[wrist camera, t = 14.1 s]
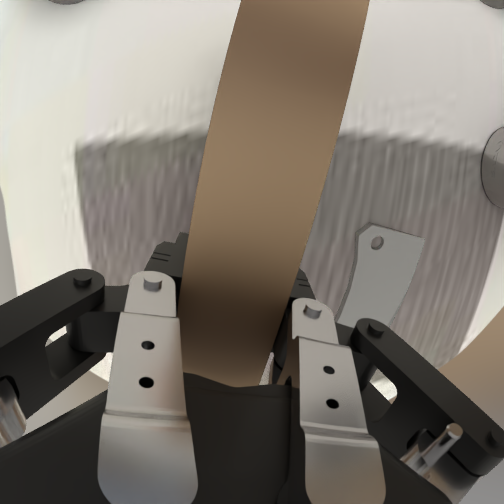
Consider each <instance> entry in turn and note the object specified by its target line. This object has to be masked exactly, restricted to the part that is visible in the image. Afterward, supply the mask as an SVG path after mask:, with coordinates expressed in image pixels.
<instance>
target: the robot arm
mask: <svg viewBox="0 0 504 504" xmlns="http://www.w3.org/2000/svg"><path fill="white" fill-rule="evenodd" d="M482 181H483V186H484V189H485V192H486V195H487V196H488V198H489V199H490V201H491V202H492V203H493V204H494V205H496V206H498V207H500V208H502V209H504V127H503V128H500V129H499V130H497V131H496V132H495V133H494V134H493V135H492V136H491V138H490V139H489V141H488V143H487V145H486V148H485V151H484V155H483V160H482ZM188 237H189V234H187V233H182V232H180V233H179V236H178V238H177V240H176V243H170V242H163V243H161V244H159V245H157V246H156V248H155V250H154V252H153V254H152V256H151V258H150V260H149V262H148V264H147V266H146V268H145V270H144V271H143V272H139V273H136V274H134V275H133V276H132V277H131V280H130V284H129V285H125V286H105V279H104V277H103V276H102V275H101V274H100V273H98V272H96V271H94V270H90V269H76V270H72V271H69V272H67V273H65V274H63V275H60V276H58V277H56V278H54V279H52V280H50V281H48V282H46V283H44V284H42V285H40V286H38V287H36V288H34V289H32V290H30V291H28V292H26V293H24V294H22V295H20V296H18V297H16V298H14V299H12V300H10V301H8V302H7V303H5V304H3V305H1V306H0V504H458V503H459V502H460V501H461V500H462V499H463V497H464V496H465V495H466V494H467V492H468V491H469V490H470V489H471V488H472V486H473V485H475V484H476V483H477V482H478V481H479V480H481V479H482V478H483V477H484V476H485V475H486V474H488V473H489V472H490V471H491V470H492V469H493V468H494V467H495V466H497V465H498V464H499V463H500V462H501V461H502V460H503V459H504V430H503V429H502V428H501V427H499V425H497V424H496V423H495V422H494V421H493V420H492V419H491V418H490V417H489V416H488V415H487V414H485V412H483V411H482V410H481V409H480V408H479V407H478V406H477V405H476V404H475V403H473V401H471V400H470V399H469V398H468V397H467V396H466V395H465V394H464V393H462V392H461V391H460V390H459V389H458V388H457V387H456V386H455V385H454V384H453V383H451V382H450V381H449V380H448V379H447V378H446V377H445V376H444V375H442V374H441V373H440V372H439V371H438V370H437V369H436V368H435V367H433V366H432V365H431V364H430V363H429V362H428V361H427V360H425V359H424V358H423V357H422V356H421V355H420V354H419V353H418V352H416V351H415V350H414V349H413V348H412V347H411V346H409V345H408V344H407V343H406V342H405V341H404V340H403V339H401V338H400V337H399V336H398V335H397V334H396V333H394V332H393V331H392V330H391V329H390V328H389V327H387V326H386V325H385V324H383V323H381V322H380V321H377V320H374V319H371V318H361V319H359V320H358V321H357V323H356V325H355V327H354V328H352V327H349V326H346V325H343V324H340V323H337V322H335V321H334V316H333V313H332V311H331V310H330V308H329V307H328V306H326V305H325V304H323V303H321V302H319V301H317V300H316V299H315V296H314V294H313V291H312V289H311V287H310V284H309V282H308V279H307V277H306V274H305V273H304V272H303V271H302V270H301V269H300V268H299V269H298V272H297V275H296V279H295V282H294V285H293V288H292V291H291V294H290V297H289V300H288V303H287V306H286V309H285V312H284V315H283V318H282V321H281V324H280V327H279V329H278V332H277V335H276V338H275V341H274V344H273V347H272V349H271V352H273V353H274V357H273V359H272V362H271V365H270V373H269V383H268V385H258V386H247V387H232V386H229V385H226V384H222V383H219V382H216V381H214V380H211V379H208V378H205V377H202V376H199V375H196V374H192V373H186V372H183V369H182V355H181V340H180V323H179V317H177V312H178V304H179V297H180V289H181V282H182V275H183V269H184V262H185V255H186V249H187V243H188ZM64 326H66V331H67V333H66V334H64V335H63V336H61V337H60V338H58V339H57V340H55V341H54V342H52V343H51V344H49V345H48V346H46V347H45V344H46V342H47V340H48V338H49V337H50V336H51V335H52V334H53V333H54V332H56V331H58V330H59V329H61V328H62V327H64ZM107 352H113V358H112V365H111V371H110V378H109V387H108V389H107V390H106V391H104V392H102V393H100V394H99V395H97V396H95V397H93V398H92V399H90V400H88V401H86V402H85V403H83V404H81V405H79V406H78V407H76V408H74V409H72V410H70V411H69V412H67V413H65V414H63V415H61V416H59V417H58V418H56V419H54V420H52V421H50V422H48V423H47V424H45V425H43V426H41V427H39V428H37V429H35V430H34V431H32V432H30V433H28V434H26V435H24V436H22V435H23V433H24V432H25V429H26V419H28V418H29V417H30V416H31V415H33V414H34V413H35V412H37V411H38V410H39V409H40V408H42V407H43V406H44V405H45V404H47V403H48V402H49V401H50V400H52V399H53V398H54V397H55V396H57V395H58V394H59V393H60V392H62V391H63V390H64V389H66V388H67V387H68V386H69V385H71V384H72V383H73V382H74V381H75V380H77V379H78V378H79V377H81V376H82V375H83V374H84V373H86V372H87V371H88V370H90V369H91V368H92V367H93V366H95V365H96V364H97V363H98V362H100V361H101V360H102V359H103V358H104V357H105V356H106V353H107ZM377 368H378V369H379V370H380V371H381V372H382V373H383V374H384V375H385V376H386V377H387V378H388V379H389V380H390V381H391V382H392V383H393V384H394V385H395V386H396V389H397V398H396V399H395V401H394V402H393V404H390V402H389V401H388V400H387V399H386V398H385V397H384V396H383V395H382V394H381V393H380V392H379V391H378V390H377V389H376V388H375V387H374V386H373V385H372V384H371V383H370V382H369V381H370V380H371V378H372V376H373V375H374V373H375V371H376V370H377Z"/></svg>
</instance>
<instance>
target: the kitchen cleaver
mask: <svg viewBox="0 0 504 504" xmlns="http://www.w3.org/2000/svg"><path fill="white" fill-rule="evenodd" d="M377 236H381V238H382V242H381V244H380V245H379V246H378V247H376V248H372V247H371V241H372V240H373V239H374V238H375V237H377ZM424 242H425V239H424V238H421V237H417V236H414V235H411V234H407V233H404V232H400V231H397V230H394V229H390V228H387V227H383V226H380V225H376V224H373V223H368V224H367V225H365V226H364V227H363V228H361V229H360V230H359V231H357V232H356V239H355V258H354V262H353V267H352V271H351V275H350V279H349V284H348V287H347V290H346V293H345V295H344V298H343V301H342V303H341V306H340V308H339V311H338V313H337V315H336V317H335V319H334V321H335V322H337V323H340V324H343V325H346V326H349V327H352V328H354V327H355V325H356V323H357V321H358V320H359V319H361V318H371V319H374V320H377V321H380V322H381V323H383V324H385V325H386V326H387V327H390V325H391V324H392V322H393V320H394V318H395V316H396V314H397V312H398V310H399V308H400V306H401V304H402V301H403V299H404V297H405V295H406V293H407V290H408V288H409V285H410V283H411V280H412V278H413V275H414V272H415V270H416V267H417V264H418V261H419V258H420V255H421V252H422V249H423V246H424Z"/></svg>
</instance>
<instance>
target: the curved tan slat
mask: <svg viewBox="0 0 504 504" xmlns="http://www.w3.org/2000/svg"><path fill="white" fill-rule="evenodd" d="M369 1H370V0H241V3H240V7H239V10H238V14H237V17H236V21H235V24H234V28H233V32H232V35H231V39H230V43H229V47H228V50H227V54H226V58H225V62H224V66H223V70H222V74H221V78H220V82H219V87H218V91H217V95H216V99H215V104H214V108H213V112H212V117H211V121H210V126H209V131H208V135H207V140H206V145H205V150H204V155H203V160H202V165H201V170H200V175H199V180H198V185H197V191H196V196H195V202H194V207H193V213H192V219H191V224H190V230H189V237H188V243H187V249H186V255H185V262H184V269H183V275H182V282H181V289H180V297H179V304H178V312H177V317H179V323H180V340H181V355H182V369H183V372H186V373H192V374H196V375H199V376H202V377H205V378H208V379H211V380H214V381H216V382H219V383H222V384H226V385H229V386H232V387H247V386H258V385H259V383H260V380H261V377H262V375H263V372H264V369H265V366H266V364H267V361H268V358H269V355H270V352H271V349H272V347H273V344H274V341H275V338H276V335H277V332H278V329H279V327H280V324H281V321H282V318H283V315H284V312H285V309H286V306H287V303H288V300H289V297H290V294H291V291H292V288H293V285H294V282H295V279H296V275H297V272H298V269H299V266H300V263H301V260H302V257H303V254H304V250H305V247H306V244H307V241H308V237H309V234H310V231H311V228H312V224H313V221H314V218H315V214H316V211H317V208H318V204H319V201H320V197H321V194H322V191H323V187H324V184H325V180H326V177H327V173H328V169H329V166H330V162H331V159H332V155H333V151H334V148H335V144H336V140H337V137H338V133H339V129H340V125H341V121H342V118H343V114H344V110H345V106H346V102H347V98H348V94H349V90H350V86H351V82H352V78H353V73H354V69H355V65H356V61H357V56H358V52H359V48H360V43H361V39H362V34H363V30H364V25H365V20H366V16H367V11H368V6H369Z"/></svg>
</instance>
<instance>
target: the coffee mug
mask: <svg viewBox="0 0 504 504" xmlns="http://www.w3.org/2000/svg"><path fill="white" fill-rule="evenodd" d="M480 1H482V2H483V3H485V4H486V5H488V6H490V7H493V8H497V9H502V8H504V0H480Z"/></svg>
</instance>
